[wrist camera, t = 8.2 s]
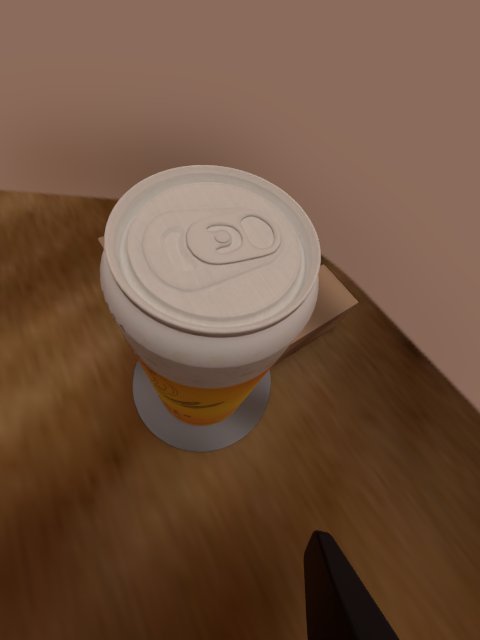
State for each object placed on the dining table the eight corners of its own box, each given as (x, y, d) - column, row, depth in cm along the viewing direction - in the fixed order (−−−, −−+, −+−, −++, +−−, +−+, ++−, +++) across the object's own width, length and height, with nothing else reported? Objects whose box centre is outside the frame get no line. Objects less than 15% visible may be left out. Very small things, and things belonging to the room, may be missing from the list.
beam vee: (330, 483, 18) (361, 487, 15) (34, 416, 18) (-5, 403, 14) (336, 299, 26) (358, 273, 22) (125, 247, 25) (113, 212, 22)
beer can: (150, 357, 20) (67, 168, 7) (227, 334, 22) (276, 146, 9) (172, 441, 18) (112, 394, 5) (257, 408, 20) (381, 306, 7)
